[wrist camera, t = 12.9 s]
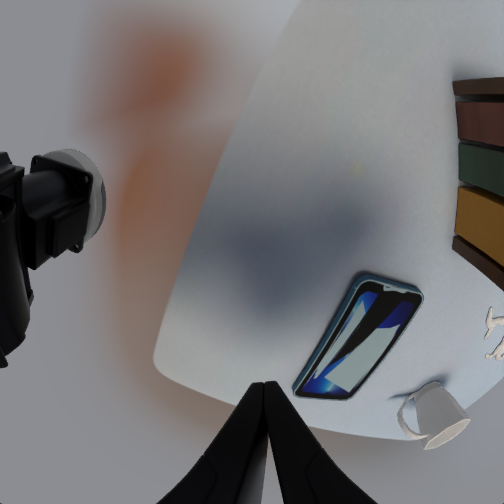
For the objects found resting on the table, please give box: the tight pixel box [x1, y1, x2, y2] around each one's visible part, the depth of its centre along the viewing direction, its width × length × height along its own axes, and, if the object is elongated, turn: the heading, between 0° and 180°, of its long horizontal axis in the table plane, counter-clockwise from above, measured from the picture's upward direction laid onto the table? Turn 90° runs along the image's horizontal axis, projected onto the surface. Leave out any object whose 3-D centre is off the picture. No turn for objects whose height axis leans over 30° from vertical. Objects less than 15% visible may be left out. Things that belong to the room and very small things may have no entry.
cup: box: [397, 381, 471, 449], centre depth 24 cm, size 7×10×8 cm
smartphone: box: [293, 275, 424, 401], centre depth 23 cm, size 7×1×15 cm
